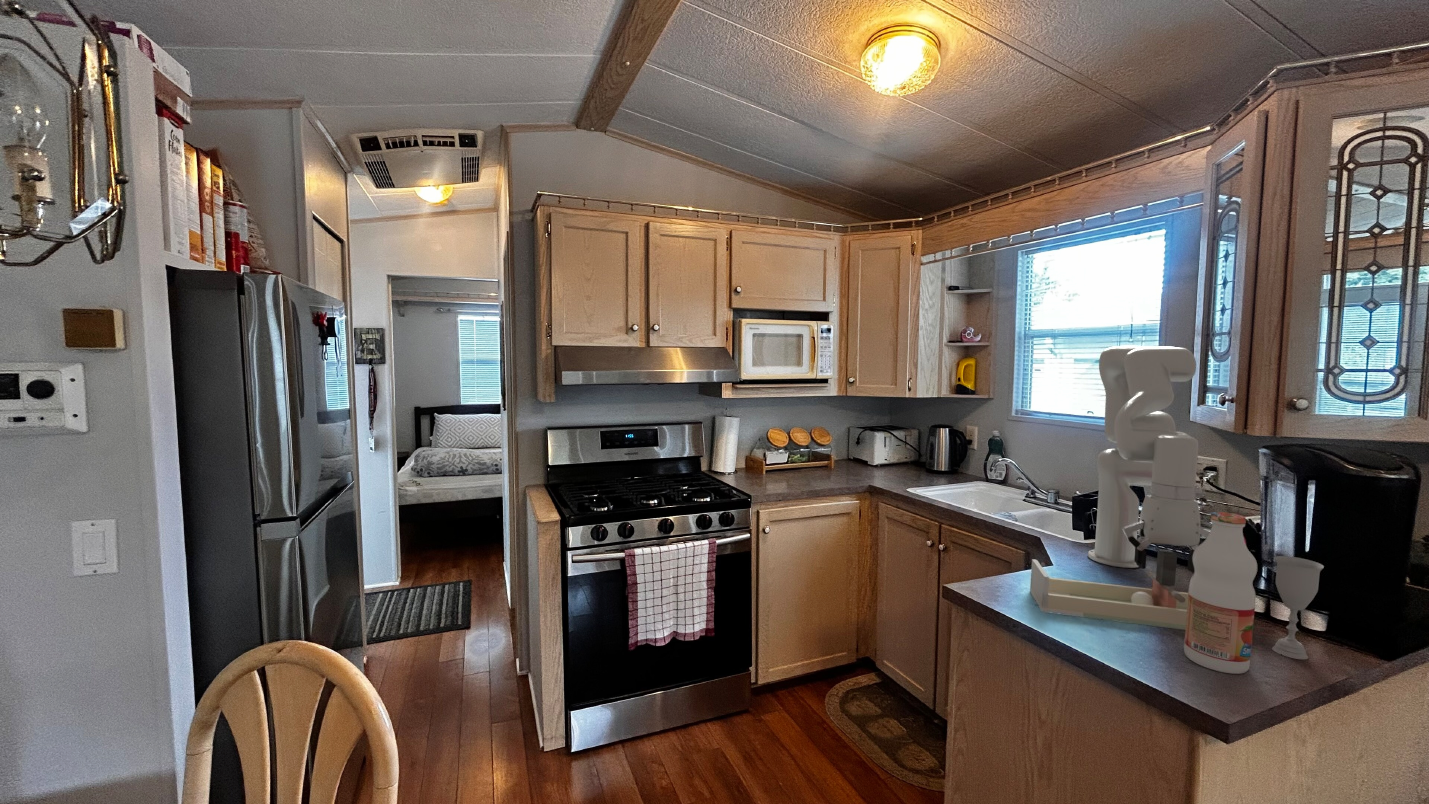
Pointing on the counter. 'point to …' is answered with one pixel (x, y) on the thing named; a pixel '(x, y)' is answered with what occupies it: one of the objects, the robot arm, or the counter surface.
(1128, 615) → the cream long tray
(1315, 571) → the chalice
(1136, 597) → the ball
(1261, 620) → the counter surface
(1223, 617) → the fruit juice
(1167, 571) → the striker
